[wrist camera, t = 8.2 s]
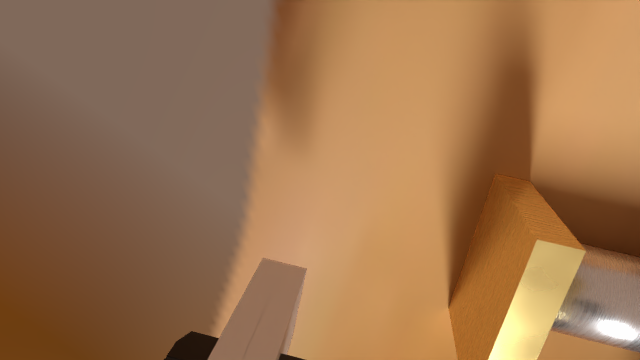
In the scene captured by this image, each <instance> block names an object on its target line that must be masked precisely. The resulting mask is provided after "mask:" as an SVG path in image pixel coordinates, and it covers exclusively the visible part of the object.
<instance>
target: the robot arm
mask: <svg viewBox="0 0 640 360" xmlns="http://www.w3.org/2000/svg"><path fill="white" fill-rule="evenodd" d="M306 270H307V269H306V268H302V267H298V266H294V265H290V264H286V263H282V262H278V261H274V260H270V259H266V258H263V259H262V261H261V262H260V264H259V266H258V268H257V270H256V272H255V273H254V275H253V277H252V279H251V281H250V283H249V284H248V286H247V288H246V290H245V292H244V294H243V295H242V297H241V299H240V301H239V303H238V305H237V306H236V308H235V310H234V312H233V314H232V316H231V317H230V319H229V321H228V323H227V325H226V327H225V328H224V330H223V332H222V334H221V336H220V338H216V337H212V336H208V335H204V334H200V333H197V332H193V331H191V332H190V333H188V334H187V335H185V336H184V337H183V338H181V339H179V340H178V341H177V342H176V343H175V344H174V346H173V347H172V349H171V350H170V352H169V353H168V355H167V357H166V359H164V360H305V359H301V358H297V357H293V356H289V355H287V352H288V349H289V346H290V342H291V339H292V336H293V331H294V327H295V322H296V317H297V313H298V308H299V303H300V298H301V294H302V289H303V284H304V279H305V275H306Z"/></svg>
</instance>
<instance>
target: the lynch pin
mask: <svg viewBox="0 0 640 360" xmlns="http://www.w3.org/2000/svg"><path fill="white" fill-rule="evenodd" d="M448 308H449V313H450V319H451V325H452V330H453V336H454V341H455V347H456V352H457V358H458V360H537V358H538V355H539V353H540V351H541V349H542V347H543V345H544V342H545V340H546V338H547V336H548V334H549V331H554V332H558V333H562V334H566V335H570V336H574V337H578V338H582V339H586V340H590V341H594V342H598V343H602V344H606V345H610V346H614V347H618V348H622V349H626V350H630V351H635V352H639V353H640V257H636V256H632V255H627V254H623V253H619V252H615V251H610V250H606V249H602V248H597V247H593V246H589V245H585V244H580V243H579V242H578V240H577V239H576V238H575V237H574V235H573V234H572V233H571V232H570V230H569V229H568V228H567V227H566V225H565V224H564V223H563V222H562V221H561V219H560V218H559V217H558V216H557V214H556V213H555V212H554V211H553V209H552V208H551V207H550V206H549V205H548V203H547V202H546V201H545V200H544V198H543V197H542V196H541V195H540V193H539V192H538V191H537V190H536V189H535V187H534V186H533V185H532V184H531V182H530V181H527V180H522V179H518V178H513V177H509V176H504V175H500V174H495V176H494V179H493V182H492V184H491V187H490V190H489V193H488V196H487V199H486V202H485V204H484V207H483V210H482V213H481V216H480V219H479V222H478V224H477V227H476V230H475V233H474V236H473V239H472V242H471V244H470V247H469V250H468V253H467V256H466V259H465V262H464V264H463V267H462V270H461V273H460V276H459V279H458V282H457V284H456V287H455V290H454V293H453V296H452V299H451V302H450V305H449V307H448Z"/></svg>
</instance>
